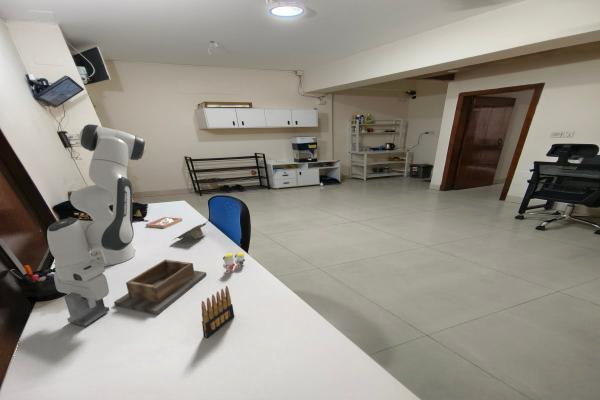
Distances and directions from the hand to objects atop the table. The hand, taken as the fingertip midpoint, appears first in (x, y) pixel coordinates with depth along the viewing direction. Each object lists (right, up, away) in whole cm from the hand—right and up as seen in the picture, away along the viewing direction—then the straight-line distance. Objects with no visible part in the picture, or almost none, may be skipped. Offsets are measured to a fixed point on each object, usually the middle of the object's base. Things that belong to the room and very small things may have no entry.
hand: (86, 305), depth 85 cm
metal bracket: (0, -4, +1) cm, 4 cm away
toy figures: (+42, +4, +30) cm, 52 cm away
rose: (-23, +18, +96) cm, 100 cm away
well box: (+18, 0, +16) cm, 24 cm away
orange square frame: (-25, +19, +97) cm, 102 cm away
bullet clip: (+47, -5, -5) cm, 47 cm away
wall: (+7, +12, +67) cm, 68 cm away
